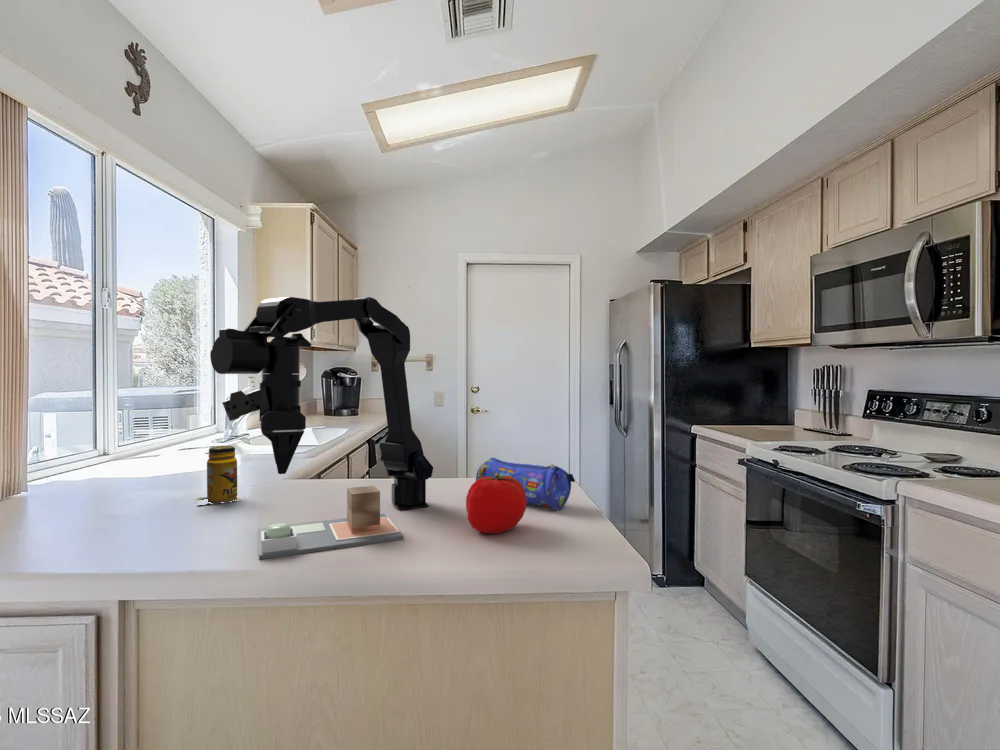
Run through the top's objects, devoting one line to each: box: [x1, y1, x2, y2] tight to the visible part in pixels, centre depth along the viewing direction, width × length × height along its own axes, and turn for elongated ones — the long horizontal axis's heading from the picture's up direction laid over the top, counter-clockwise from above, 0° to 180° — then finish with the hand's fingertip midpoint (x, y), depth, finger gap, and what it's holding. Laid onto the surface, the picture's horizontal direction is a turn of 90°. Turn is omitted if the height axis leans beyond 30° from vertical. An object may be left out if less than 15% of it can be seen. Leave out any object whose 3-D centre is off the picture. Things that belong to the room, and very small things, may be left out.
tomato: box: [465, 475, 527, 535], centre depth 98 cm, size 11×13×10 cm
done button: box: [266, 522, 291, 539], centre depth 87 cm, size 4×4×2 cm
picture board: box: [257, 513, 404, 560], centre depth 94 cm, size 23×15×3 cm, turn 115°
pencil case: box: [475, 457, 576, 511], centre depth 117 cm, size 22×9×10 cm, turn 53°
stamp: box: [346, 485, 381, 534], centre depth 96 cm, size 5×5×7 cm
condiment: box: [194, 445, 242, 503], centre depth 118 cm, size 7×8×12 cm
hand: (280, 468), depth 87 cm, fingers open, 9 cm apart
